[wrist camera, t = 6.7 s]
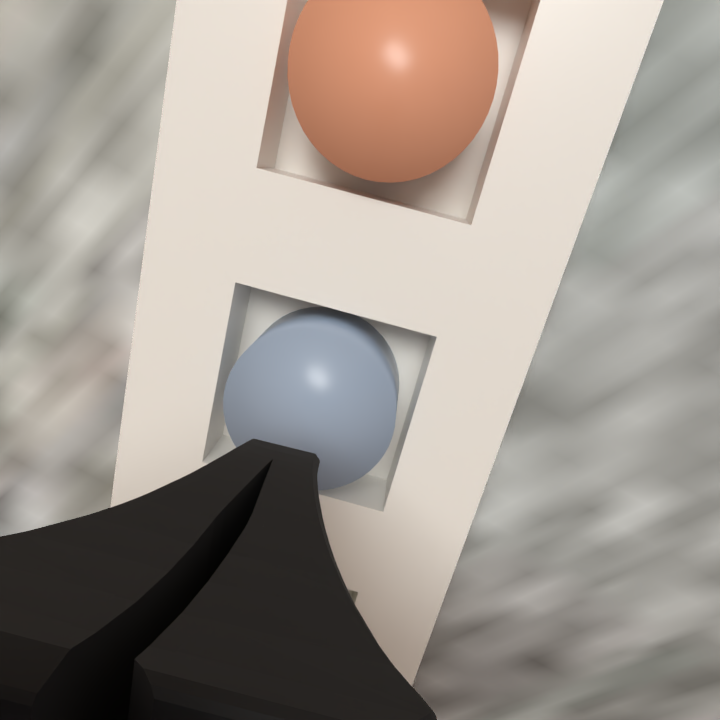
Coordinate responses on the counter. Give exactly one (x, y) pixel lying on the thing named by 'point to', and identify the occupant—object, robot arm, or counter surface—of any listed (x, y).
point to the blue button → (317, 392)
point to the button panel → (368, 271)
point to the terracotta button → (392, 82)
